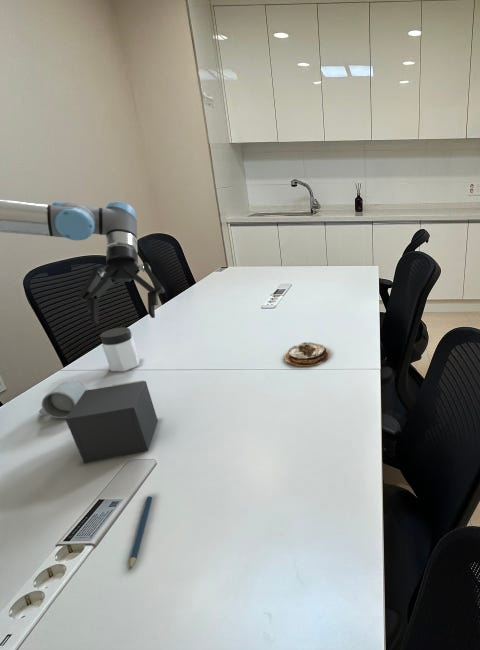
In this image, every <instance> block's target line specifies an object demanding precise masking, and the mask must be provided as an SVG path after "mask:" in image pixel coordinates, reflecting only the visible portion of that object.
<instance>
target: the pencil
mask: <svg viewBox="0 0 480 650" xmlns="http://www.w3.org/2000/svg"><path fill="white" fill-rule="evenodd" d="M152 500H153V497H152V496H150V495H149V496H147V497H146V499H145V503H144V508H143V511H142V514H141V518H140V522H139V524H138V529H137V533H136V536H135V541H134V544H133V548H132V550H131V555H130V558H129V566H130V568H129V569H132V567H133V566H134V564H135V563H136V560H137V557H138V554H139V549H140V546H141V542H142V538H143V534H144V532H145V527H146V523H147V520H148V515H149V512H150V508H151V504H152Z"/></svg>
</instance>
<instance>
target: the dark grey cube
mask: <svg viewBox="0 0 480 650" xmlns="http://www.w3.org/2000/svg"><path fill="white" fill-rule="evenodd" d="M64 419H65V421H66V422H65V423H66V424H67V427H68V429H69V431H70V433H71V436H72V438H73V441H74V443H75V445H76V448H77V450H78V452H79V455H80V457H81V460H82V462H83V464H88V463H92V462H97V461H102V460H107V459H112V458H117V457H118V458H119V457H122V456H123V457H124V456H128V455H133V454H138V453H142V452H148V451H149V450H150V447H151V443H152V440H153V437H154V434H155V432H156V428H157V425H158V422H159V419H158V417H157V413H156V409H155V407H154V403H153V400H152V397H151V393H150V390H149V387H148V383H147V380H144V381H142V382H136V383H129V384H123V385H117V386H113V385H112V386H105V387H104V386H103V387H97V388H92V389H87V390H85V392H84V393H83V395H82V396H81V397H80V399H79V400H78V402H77V403H76V405H75V406H74V407H73V409H72V410H71V412H70V413H69V415H68V416H67V417H66V418H64Z"/></svg>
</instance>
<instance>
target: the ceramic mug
mask: <svg viewBox="0 0 480 650" xmlns="http://www.w3.org/2000/svg"><path fill="white" fill-rule="evenodd" d="M85 390H88V389H87V387H86V386H85V385H84V384H83V383H82V382H80V381H77V380H67V381H63V382H62V383H60V384H59V385H57V386H56V387H55V388H54V389H52V390H51V391H50V392H48V393H47V394H45V396H44V397H43V398H42V400H41V408H40V409H39V410H38V413H39V414H40V415H41V416H47V415H48V416H50V417H52V418H56V419H66V417H67V416H68V415H69V413H70V412H71V410H72V409H73V407H74V406H75V405H76V403H77V402H78V400H79V399H80V397H81V396H82V395H83V393H84V392H85Z"/></svg>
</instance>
